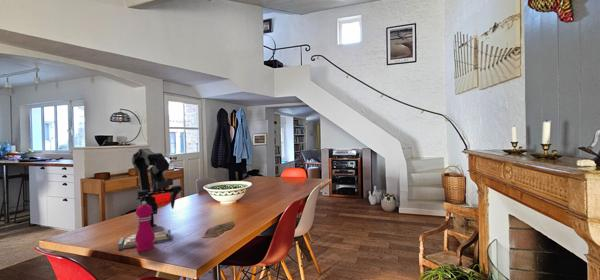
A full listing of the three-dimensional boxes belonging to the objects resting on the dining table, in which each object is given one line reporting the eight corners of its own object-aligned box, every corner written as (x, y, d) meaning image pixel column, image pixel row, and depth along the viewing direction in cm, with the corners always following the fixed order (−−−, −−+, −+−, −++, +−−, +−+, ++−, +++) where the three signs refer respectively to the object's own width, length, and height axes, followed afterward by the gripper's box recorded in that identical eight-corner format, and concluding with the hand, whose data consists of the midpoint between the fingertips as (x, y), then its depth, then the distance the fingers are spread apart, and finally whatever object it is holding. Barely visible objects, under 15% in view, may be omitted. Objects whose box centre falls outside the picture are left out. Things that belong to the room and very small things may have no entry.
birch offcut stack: (125, 240, 121) (125, 235, 121) (166, 233, 129) (166, 228, 129) (123, 246, 114) (123, 240, 114) (166, 238, 122) (166, 233, 122)
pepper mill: (146, 252, 109) (144, 203, 109) (131, 251, 111) (129, 203, 111) (159, 245, 117) (157, 199, 116) (144, 244, 118) (143, 199, 118)
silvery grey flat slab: (121, 243, 121) (120, 237, 121) (170, 234, 130) (170, 229, 130) (118, 249, 113) (118, 244, 113) (171, 240, 122) (170, 234, 122)
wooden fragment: (213, 239, 122) (213, 237, 122) (193, 237, 126) (193, 235, 126) (243, 222, 146) (243, 220, 146) (226, 221, 150) (226, 219, 150)
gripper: (138, 174, 116) (143, 210, 112) (183, 170, 129) (188, 202, 125) (133, 182, 124) (137, 216, 119) (176, 177, 137) (181, 208, 132)
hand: (162, 210), depth 124 cm, fingers open, 9 cm apart
